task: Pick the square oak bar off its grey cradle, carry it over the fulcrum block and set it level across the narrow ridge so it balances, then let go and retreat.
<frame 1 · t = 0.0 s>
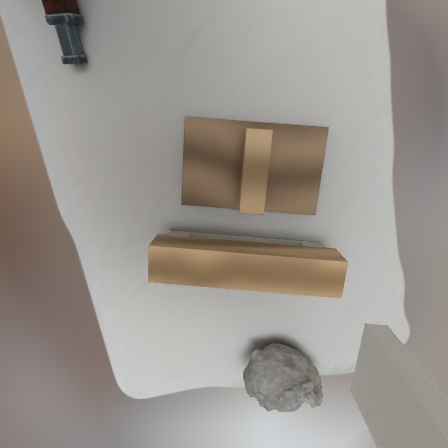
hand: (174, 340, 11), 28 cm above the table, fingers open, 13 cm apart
stone: (277, 351, 43), on the table
cradle: (244, 246, 39), on the table
fulcrum: (251, 166, 37), on the table
bar: (244, 258, 36), point 4 cm above the table, touching cradle
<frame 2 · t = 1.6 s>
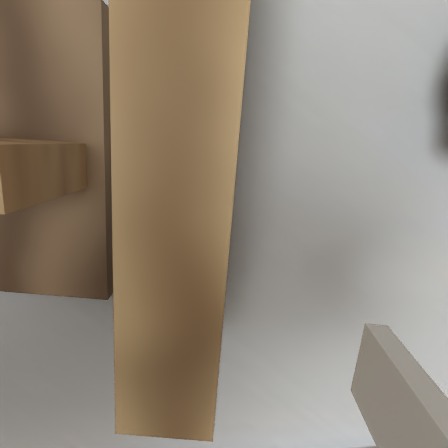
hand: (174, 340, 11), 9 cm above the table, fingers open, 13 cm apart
fulcrum: (25, 159, 18), on the table
bar: (188, 181, 14), point 4 cm above the table, touching cradle
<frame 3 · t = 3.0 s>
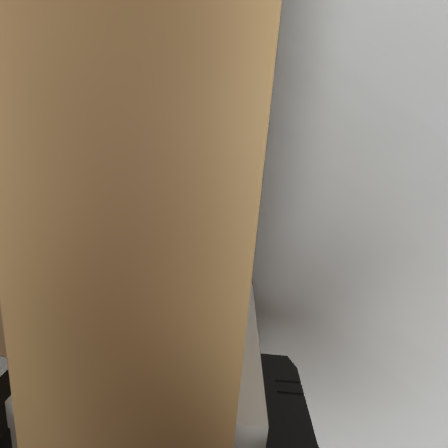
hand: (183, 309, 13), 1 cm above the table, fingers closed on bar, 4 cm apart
bar: (173, 208, 9), point 4 cm above the table, touching cradle, gripper
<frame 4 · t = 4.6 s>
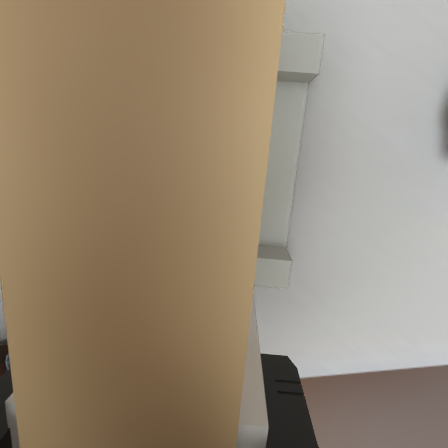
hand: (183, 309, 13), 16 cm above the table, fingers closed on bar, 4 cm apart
gun: (2, 345, 33), on the table
cradle: (279, 168, 27), on the table
bar: (174, 208, 9), point 19 cm above the table, touching gripper
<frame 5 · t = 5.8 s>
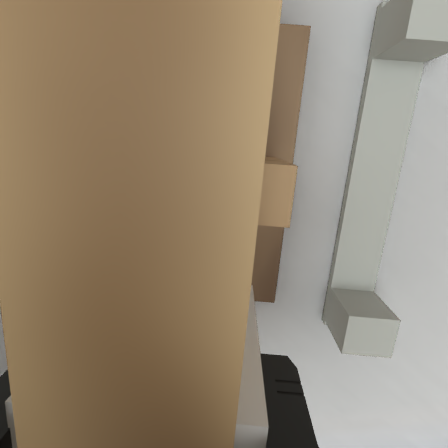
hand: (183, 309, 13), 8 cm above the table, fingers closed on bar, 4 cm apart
cradle: (369, 184, 19), on the table
fulcrum: (206, 171, 19), on the table
bar: (173, 208, 9), point 11 cm above the table, touching gripper
when the fingers open (5 cm above the table, at t = 6.5 s): bar stays where it is, resting on fulcrum.
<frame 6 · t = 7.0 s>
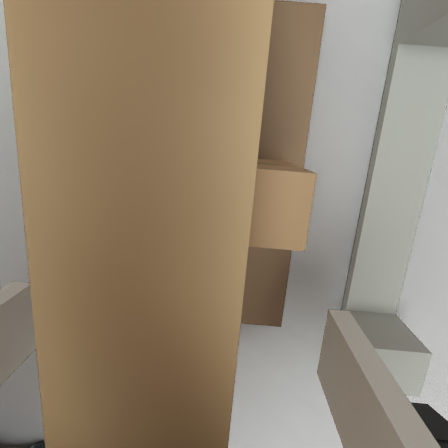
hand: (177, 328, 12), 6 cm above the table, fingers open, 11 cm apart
cradle: (391, 191, 17), on the table
fulcrum: (203, 176, 17), on the table
bar: (177, 203, 9), point 8 cm above the table, touching fulcrum
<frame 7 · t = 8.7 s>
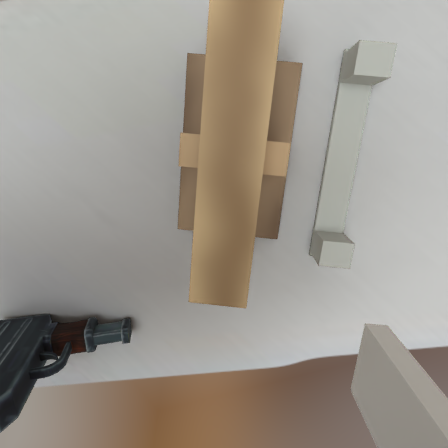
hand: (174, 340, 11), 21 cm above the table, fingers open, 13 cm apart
gun: (71, 322, 36), on the table
cradle: (339, 161, 30), on the table
fulcrum: (235, 151, 30), on the table
bar: (233, 155, 23), point 7 cm above the table, touching fulcrum
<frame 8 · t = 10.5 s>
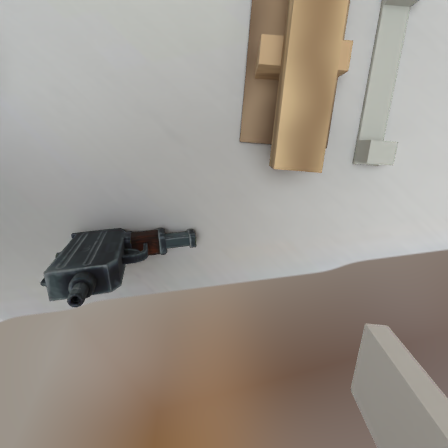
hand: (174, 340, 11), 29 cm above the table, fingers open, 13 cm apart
gun: (139, 236, 41), on the table
cradle: (380, 78, 35), on the table
fulcrum: (290, 71, 35), on the table
bar: (304, 52, 28), point 7 cm above the table, touching fulcrum
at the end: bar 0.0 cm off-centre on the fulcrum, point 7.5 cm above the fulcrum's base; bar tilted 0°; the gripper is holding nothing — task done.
